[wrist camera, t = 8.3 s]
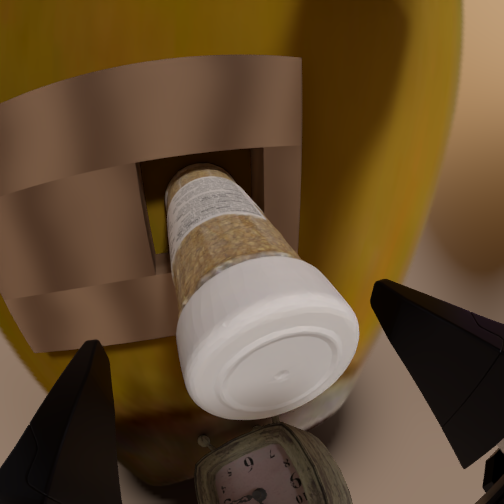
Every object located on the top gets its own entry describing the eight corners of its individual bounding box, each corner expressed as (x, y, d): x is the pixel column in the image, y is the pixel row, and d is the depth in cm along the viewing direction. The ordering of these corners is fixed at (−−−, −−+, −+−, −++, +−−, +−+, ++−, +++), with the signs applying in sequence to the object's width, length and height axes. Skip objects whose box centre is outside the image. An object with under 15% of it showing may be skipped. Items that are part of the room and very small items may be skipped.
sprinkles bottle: (234, 228, 19) (337, 404, 8) (164, 232, 18) (192, 437, 7) (239, 160, 17) (389, 287, 6) (162, 160, 16) (175, 318, 5)
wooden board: (283, 62, 15) (301, 57, 13) (281, 290, 23) (293, 310, 21) (-27, 122, 10) (-48, 128, 8) (41, 330, 19) (34, 352, 16)
